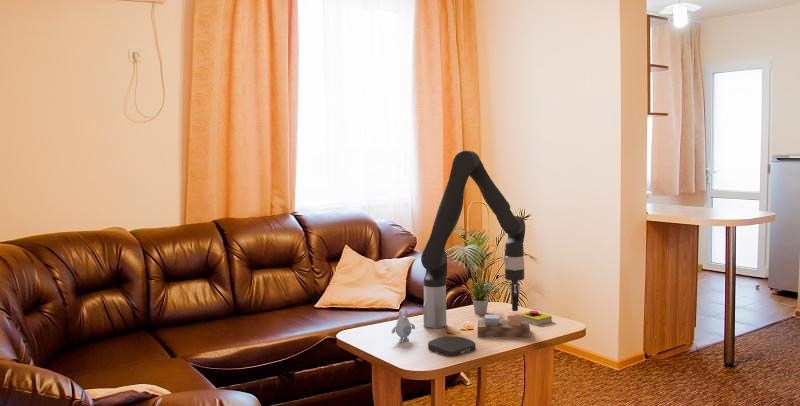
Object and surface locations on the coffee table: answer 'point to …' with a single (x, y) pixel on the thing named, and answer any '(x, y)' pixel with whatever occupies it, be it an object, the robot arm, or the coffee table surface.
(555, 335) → the coffee table surface
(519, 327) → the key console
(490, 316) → the slate-blue key
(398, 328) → the toy figure
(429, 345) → the media streaming box
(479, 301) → the house plant
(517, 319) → the terracotta key
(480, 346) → the coffee table surface
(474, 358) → the coffee table surface
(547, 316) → the emergency button
